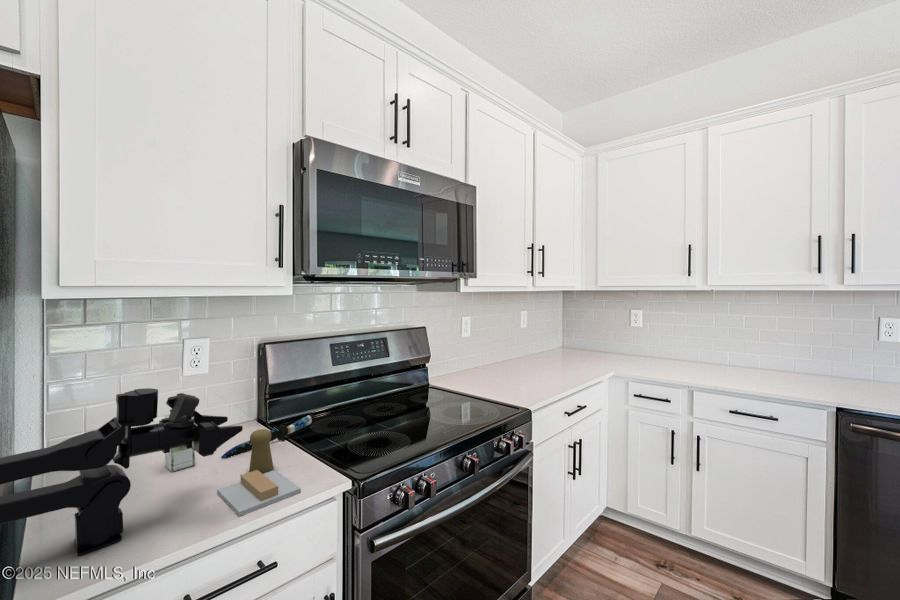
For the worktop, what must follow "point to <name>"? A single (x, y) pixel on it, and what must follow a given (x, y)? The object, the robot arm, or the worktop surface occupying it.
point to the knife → (274, 435)
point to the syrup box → (180, 457)
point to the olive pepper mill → (261, 451)
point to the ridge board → (250, 501)
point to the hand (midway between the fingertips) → (234, 423)
